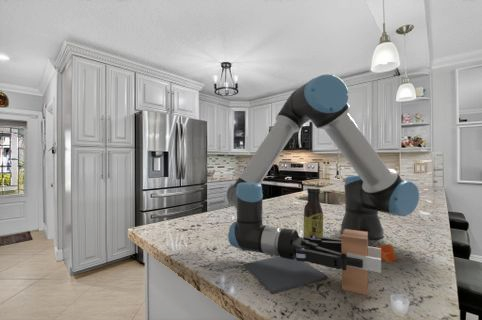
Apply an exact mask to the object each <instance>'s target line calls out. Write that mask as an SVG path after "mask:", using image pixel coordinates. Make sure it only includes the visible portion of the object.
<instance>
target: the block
mask: <svg viewBox="0 0 482 320" xmlns="http://www.w3.org/2000/svg"><path fill="white" fill-rule="evenodd" d="M341 233H342V232H341ZM340 239H341V247H342V253H343V254H345V255H346V257H347V253H352V254H358V255H363V256H368V246H369V239H368V232H365V231H357V230H349V229H345V230H344V231H343V233H342V234H341V237H340ZM341 289H342V290H344V291H347V292H348V291H349V292H353V293H356V294H360V295H364V296H368V291H369V270H364V269H359V268H354V267H349V266H347V265H346V270H342V269H341Z"/></svg>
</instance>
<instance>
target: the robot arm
mask: <svg viewBox="0 0 482 320" xmlns="http://www.w3.org/2000/svg"><path fill="white" fill-rule="evenodd" d="M348 94H349V90H348V87H347V85H346V83H345V82H344V80H342V79H341V78H340V77H338V76H336V75H333V74H327V73H326V74H322V75H318V76H316V77H314V78H312V79H310V80H308V81H307V82H306V83H305V84H303V85H302V86H300V87H298V88H297V89H296V90H294V91H293V92H291V94H290V96H289V97H288V98H287V99H286V101H285V103H284V104H283V106H282V107H281V109H280V110H279V112H278V114H277V115H276V116H275V123H274V124H273V125H272V127H271V129H270V130H269V132H268V133H267V135H266V136H265V137H264V139H263V141H262V142H261V144H259V146H258V148H257V150H256V151H255V153H254V154H253V156H252V157H251V159H250V160H249V162H248V163H247V165H245V167H244V169H243V171H242V172H241V174H240V175H239V177H237V179H236V180H235V182H234V184H231V185H230V186H229V187H228V188H227V190H226V193H225V194H226V199H227V201H228V202H229V204H230V205H231V206H232V207H234V208H236V221H233V222H232V224H230V226H229V228H228V229H229V232H228V234H227V240H228V243H229V244H230V246H232V247H234V248H237V249H239V250H240V249H241V250H242V251H249V252H255V253H260V254H265V255H269V257H271V258H274V257H279V256H280V257H282V258H286V259H291V260H293V259H295V258H296V260H297V261H304V262H305V263H311V264H314V265H319V266H323V267H326V268H332V269H336V270H341V271H342V270H346V265H347V266H349V267H354V268H359V269H364V270H368V272H369V271H370V272H375V273H380V274H382V261H381V248H376V247H377V246H376V247H374V246H369V245H368V256H363V255H358V254H352V253H347V257H346V255H345V254H343V253H342V247H341V238H335V237H325V236H323V237H320V236H315V235H310V237H304V236H303V237H304V238H303V237H300V235H299V232H298V231H297V230H296V229H291V228H285V227H284V228H282V227H278V226H273V225H264V224H263V198H264V194H263V185H262V183H263V180H264V179H265V178H266V176H267V174H268V173H269V171H270V170H271V169H272V167H273V165H274V164H275V162H276V161H277V160H278V158H279V156H280V155H281V153H282V151H283V150H284V149H285V147H286V145H287V144H288V143H289V141H290V140H291V138H292V136H293V135H294V134H296V133H298V132H299V131H300V129H301V128H302V127H303V126H304V125H305V123H307V122H309V121H311V122H312V123H313V125H314V126H315V127H316V129H320V130H321V129H322V130H324V131H325V133H326V134H327V135H328V136H329V138H330V139H331V141H332V142H333V143H334V144H335V146H336V147H337V149H338V150H339V151H340V153H341V155H343V156H344V158H345V159H346V161H347V162H348V163H349V165H350V166H351V167H352V168H353V170H354V172H355V173H356V174H357V175H350V176H347V177H345V181H344V202H345V203H344V205H345V206H344V207H345V209H344V211H345V212H344V215H343V219H342V222H341V225H340V231H341V233H343V231H344V230H345V229H349V230H357V231H365V232H368V240H373V239H374V240H375V239H382V238H384V228H383V225H382V223H381V219H380V216H379V212H380V213H383V214H387V215H392V216H393V217H394V216H395V217H396V216H398V217H407V216H409V215H411V214H413V212H415V210H416V209H417V206H418V204H419V200H420V192H419V188H418V186H417V185H416V184H415V183H414V182H412V181H409V180H404V179H402V177H401V176H400V175H399V174H398V172H397V171H396V170H395V169H392V168H389V167H387V165H386V164H385V162H383V160H382V159H381V157H380V156H379V154H378V153H377V151H376V150H375V149H374V147H373V146H372V144H371V143H370V142H369V140H368V139H367V137H366V136H365V135H364V133H363V132H362V130H361V129H360V128H359V126H358V125H357V123H356V122H355V120H354V118H352V117H351V115H350V114H349V110H350V104H349V103H348V100H349V95H348Z"/></svg>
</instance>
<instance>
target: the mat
mask: <svg viewBox="0 0 482 320" xmlns="http://www.w3.org/2000/svg"><path fill="white" fill-rule="evenodd" d="M242 264H243V267H244V268H245V269H246V270H247V271H248V272H249V273H250V274H252V276H253V277H254V278H255V279H257V280H258V282H260V284H262V285H263V286H264V287H265V288H266V289H267V290H268V291H269V292H270V293H271V294H275V293H279V292H283V291H285V290H290V289H293V288H296V287H300V286H304V285H308V284H311V283H314V282H315V283H316V282H318V281H323V280H325V279H328V278H329V275H327V274H326V273H324V272H322V271H321V270H319V269H318V268H315V267H314V266H312V265H310V264H309V263H308V262H304V261H297V260H296V258H295V259H293V260H291V259H286V258H282V257H280V256H273V257H271V258H264V259H260V260H255V261H250V262H245V263H242Z"/></svg>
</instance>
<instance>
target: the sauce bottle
mask: <svg viewBox="0 0 482 320" xmlns="http://www.w3.org/2000/svg"><path fill="white" fill-rule="evenodd" d="M320 193H321V188H319V187H307V202H306V204H305V206H304V208H303V211H304V212H303V237H302V238H304V237H310V235H315V236H320V237H324V211H323V209H322V206H321V203H320V201H321V200H320Z"/></svg>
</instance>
